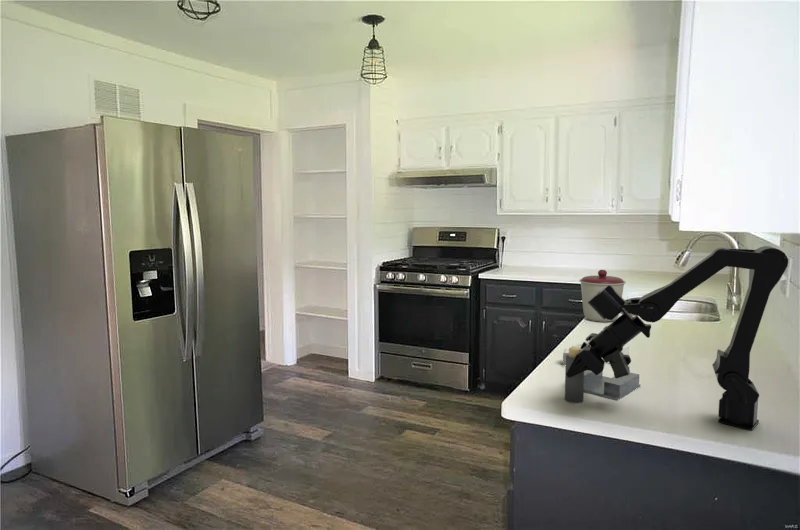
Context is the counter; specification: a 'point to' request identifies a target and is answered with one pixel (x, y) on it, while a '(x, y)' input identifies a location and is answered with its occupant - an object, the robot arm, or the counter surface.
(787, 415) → the counter surface
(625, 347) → the parts tray
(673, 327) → the counter surface
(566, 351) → the usb wall charger
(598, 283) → the canister
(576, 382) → the grey and tan cylinder
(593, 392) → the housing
